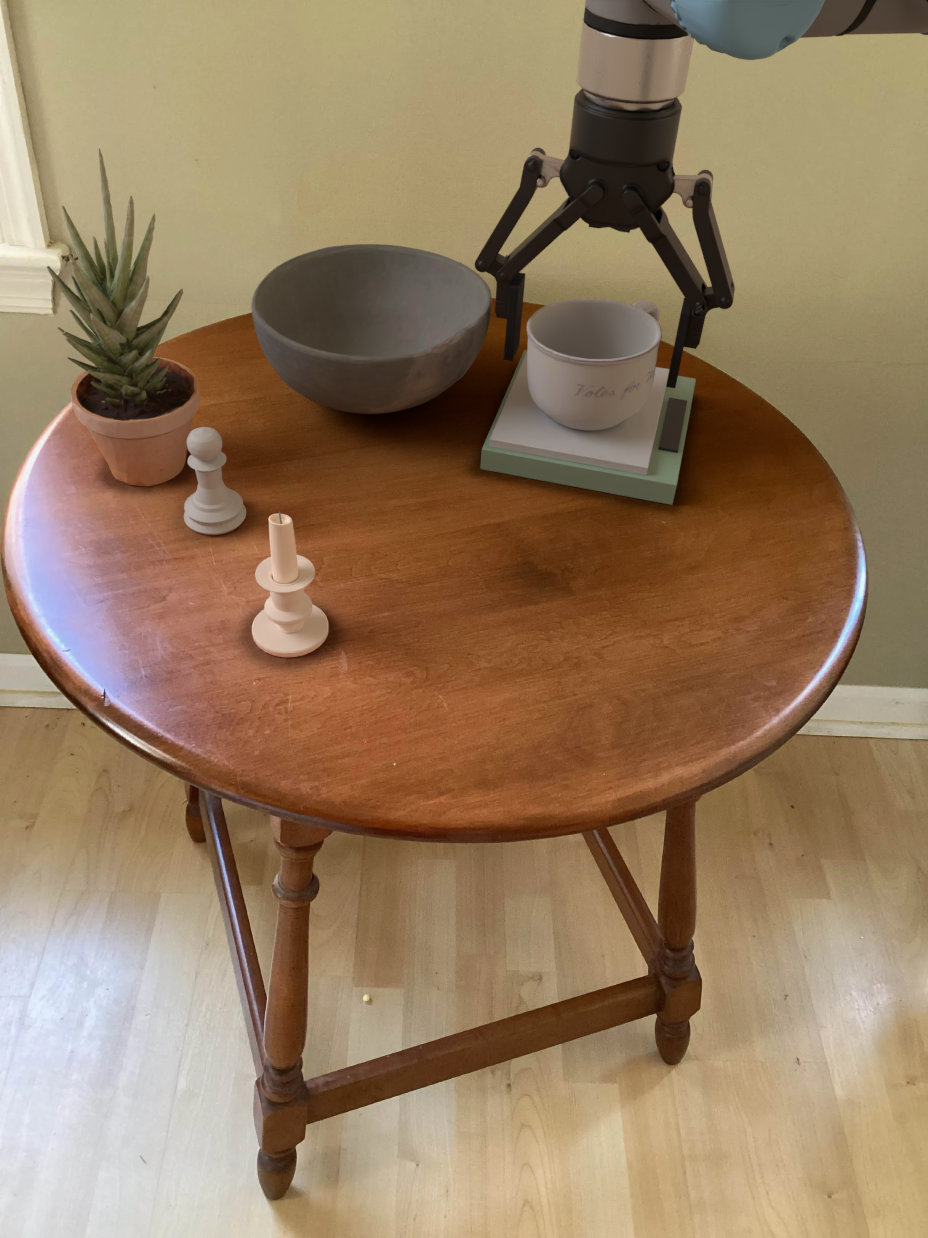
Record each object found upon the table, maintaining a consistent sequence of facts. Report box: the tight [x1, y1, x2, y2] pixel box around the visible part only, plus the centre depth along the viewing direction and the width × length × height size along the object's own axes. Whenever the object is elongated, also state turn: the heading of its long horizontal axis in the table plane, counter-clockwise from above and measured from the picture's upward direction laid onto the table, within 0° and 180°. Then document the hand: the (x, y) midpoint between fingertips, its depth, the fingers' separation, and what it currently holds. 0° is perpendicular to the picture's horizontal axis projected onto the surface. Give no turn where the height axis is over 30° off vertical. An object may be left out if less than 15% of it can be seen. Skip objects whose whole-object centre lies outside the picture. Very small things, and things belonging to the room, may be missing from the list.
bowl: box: [250, 243, 493, 415], centre depth 91 cm, size 20×20×10 cm
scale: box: [480, 349, 697, 506], centre depth 91 cm, size 16×17×3 cm
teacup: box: [526, 297, 663, 430], centre depth 87 cm, size 14×11×8 cm
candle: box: [251, 511, 329, 658], centre depth 68 cm, size 5×5×10 cm
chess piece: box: [183, 426, 247, 536], centre depth 78 cm, size 5×5×8 cm
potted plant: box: [46, 148, 200, 487], centre depth 77 cm, size 10×10×25 cm
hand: (590, 366), depth 87 cm, fingers open, 13 cm apart
